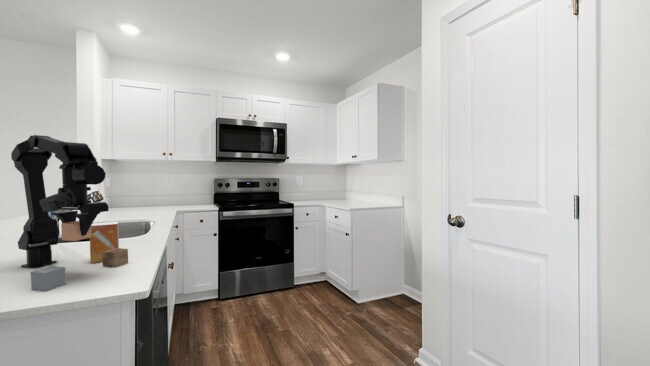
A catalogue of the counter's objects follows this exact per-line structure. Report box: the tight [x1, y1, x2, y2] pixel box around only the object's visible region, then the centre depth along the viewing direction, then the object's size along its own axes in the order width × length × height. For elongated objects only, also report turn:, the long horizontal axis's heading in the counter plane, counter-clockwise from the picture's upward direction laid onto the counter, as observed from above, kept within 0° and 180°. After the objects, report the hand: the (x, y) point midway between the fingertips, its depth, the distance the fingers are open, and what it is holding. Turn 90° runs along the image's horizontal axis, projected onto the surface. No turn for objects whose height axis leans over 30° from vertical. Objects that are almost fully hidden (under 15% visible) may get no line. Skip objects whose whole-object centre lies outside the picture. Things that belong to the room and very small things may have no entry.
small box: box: [89, 221, 120, 264], centre depth 108 cm, size 8×6×13 cm
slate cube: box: [30, 265, 67, 293], centre depth 82 cm, size 5×5×5 cm
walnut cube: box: [102, 247, 129, 269], centre depth 102 cm, size 5×5×5 cm
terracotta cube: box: [60, 220, 92, 242], centre depth 92 cm, size 5×5×5 cm
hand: (76, 235), depth 92 cm, fingers closed on terracotta cube, 5 cm apart
